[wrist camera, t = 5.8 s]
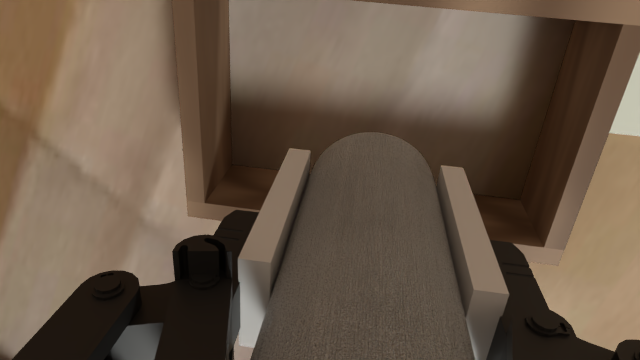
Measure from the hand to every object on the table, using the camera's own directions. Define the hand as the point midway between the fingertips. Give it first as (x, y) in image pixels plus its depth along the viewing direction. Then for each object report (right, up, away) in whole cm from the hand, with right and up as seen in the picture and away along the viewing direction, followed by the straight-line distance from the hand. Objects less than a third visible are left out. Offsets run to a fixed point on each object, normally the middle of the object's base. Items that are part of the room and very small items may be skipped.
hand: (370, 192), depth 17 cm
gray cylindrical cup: (0, 0, 0) cm, 1 cm away
